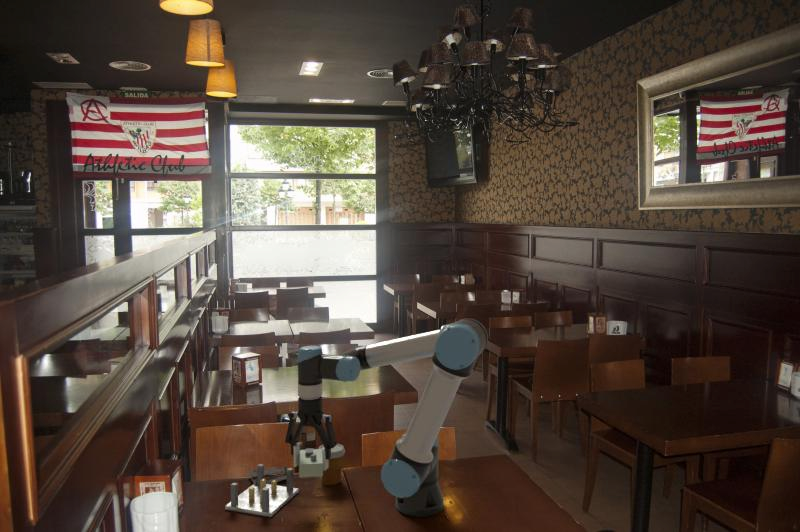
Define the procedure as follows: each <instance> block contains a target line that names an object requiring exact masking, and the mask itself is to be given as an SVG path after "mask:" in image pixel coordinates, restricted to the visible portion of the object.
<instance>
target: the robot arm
mask: <svg viewBox="0 0 800 532" xmlns="http://www.w3.org/2000/svg"><path fill="white" fill-rule="evenodd" d="M488 341H489V335H488V331H487V328H486V327H485V326H484V324H482V323H481V322H480V321H479V320H476V319H474V318H463V319H459V320H457V321H454V322H452V323H448V324H444V325H442V326H441V327H440V329H436V330H432V331H426V332H421V333H416V334H413V335H407V336H403V337H398V338H394V339H393V338H392V339H390V340H385V341H380V342H374V343H371V344H367V345H355V346H353V347H352V348H350V349H348V350H346V351H344V352H342V353H339V354H325V353H324V352H323V349H322V347H321V346H318V345H306V346H301V347H300V348H298V351H297V360H296V363H297V396H298V398H297V409H298V411H296V410H293V411H291V412H289V413H288V417H289V421H288V427H287V431H286V435H285V438H284V439H285V441H284V442H285V443H286V444H289V445H290V453H291V456H293V468H297V467H298V466H299V460H300V450H301V449H300V446H301V445H300V443H298V442H299V439H300V438H301V435H302V433H303V431H304V430H305V427H311V428H314V430H315V431H316V432H317V435H318V437H319V439H320V441H321V443H322V445H324V449H323V471H325V470H326V469H327V468H329V459H330V458H331V448H334V447H335V446H336V445H337V444H338V443H337V438H336V434H335V430H334V425H333V415H332V414H329V415H328V414H325V413H324V412H323V411H324V410H323V406H324V405H323V401H324V399H323V380H330V381H340V382H345V383H347V382H356V381H357V380H358V377H359V376H360V373H361V371H365V370H369V369H373V368H379V367H383V366H389V365H394V364H399V363H404V362H409V361H414V360H420V359H425V358H426V359H427V358H431V360H430V361H431V363H432V366H433V369H432V371H431V374H430V376H429V378H428V380H427V382H426V384H425V388H424V390H423V393H422V394H421V397H420V399H419V402H418V404H417V406H416V409H415V411H414V413H413V416H412V418H411V421H410V423H409V425H408V428H407V429H406V432H405V433H404V434H402V436H401V438H399V439H397V441H396V442H395V445H394V447H393V449H392V452H391V454H390V456H389V458H388V460H386V461H385V462H384V463H383V466H382V467H381V471H380V479H381V482H382V485H383V486H384V489H385V491H387V492H388V493H389V494H391V495H392V496H393V497H395V507H396V510H398V512H400V513H402V514H403V515H406V516H409V517H415V518H417V517H418V518H423V517H424V518H426V517H431V515H432V516H435V515H437V514H439V513H440V512H442V510H443V509H444V497H443V494H442V491H441V487H440V484H439V447H440V445H439V438H438V435H439V433H440V431H441V428H442V426H443V424H444V422H445V419H446V417H447V415H448V412H449V410H450V408H451V406H452V404H453V401H454V399H455V396H456V394H457V391H458V390H459V387H460V385H461V382H462V380H465V379H468V378H469V377H470V376H471V373H472V371H473V369H474V367H475V365H476V362H477V360H478V358H479V356H480V355H481V354H482V353H483V352H484V351H485V349H487V347H488V346H487V345H488ZM297 418H298V419H299V420H300V422H299V424H298V425H297V429H296V424H297ZM322 420H323V422H322ZM323 425H324V426H325V428H324V426H323ZM295 429H296V431H295ZM294 431H295V432H294ZM438 512H439V513H438ZM434 514H435V515H434Z"/></svg>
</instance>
